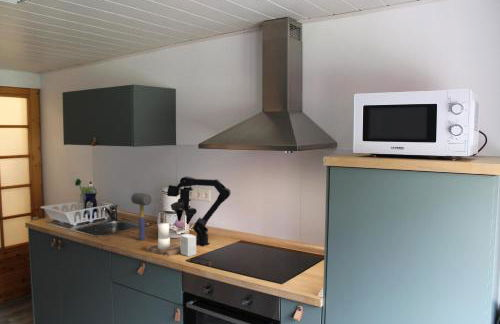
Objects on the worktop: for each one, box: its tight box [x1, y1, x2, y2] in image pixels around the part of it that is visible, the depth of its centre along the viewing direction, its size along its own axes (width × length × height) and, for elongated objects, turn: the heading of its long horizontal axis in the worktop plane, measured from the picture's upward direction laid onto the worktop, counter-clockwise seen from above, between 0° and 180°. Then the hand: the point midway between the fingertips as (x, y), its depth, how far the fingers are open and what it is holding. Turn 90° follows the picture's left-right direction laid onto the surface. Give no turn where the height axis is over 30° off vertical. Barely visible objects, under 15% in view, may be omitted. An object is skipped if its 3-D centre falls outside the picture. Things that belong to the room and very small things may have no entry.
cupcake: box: [173, 218, 184, 228], centre depth 272 cm, size 9×9×10 cm
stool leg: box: [157, 222, 171, 251], centre depth 229 cm, size 7×7×16 cm
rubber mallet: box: [130, 192, 153, 241], centre depth 255 cm, size 12×8×30 cm, turn 54°
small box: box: [179, 233, 197, 257], centre depth 225 cm, size 8×6×10 cm
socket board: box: [145, 242, 181, 257], centre depth 233 cm, size 18×15×2 cm
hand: (183, 222), depth 246 cm, fingers open, 9 cm apart
